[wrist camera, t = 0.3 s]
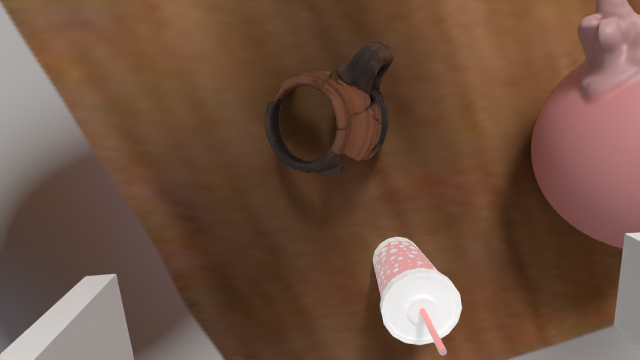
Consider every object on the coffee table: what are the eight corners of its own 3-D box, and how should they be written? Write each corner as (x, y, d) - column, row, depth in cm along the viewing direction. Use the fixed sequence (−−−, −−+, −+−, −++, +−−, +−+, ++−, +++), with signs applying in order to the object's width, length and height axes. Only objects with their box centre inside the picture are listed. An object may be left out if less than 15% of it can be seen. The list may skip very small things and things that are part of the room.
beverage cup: (426, 287, 41) (486, 391, 27) (364, 289, 41) (394, 395, 27) (429, 228, 39) (494, 307, 26) (365, 230, 39) (396, 310, 26)
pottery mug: (364, 185, 39) (321, 207, 32) (290, 127, 41) (236, 136, 34) (439, 71, 33) (408, 67, 26) (349, 13, 36) (300, -4, 29)
